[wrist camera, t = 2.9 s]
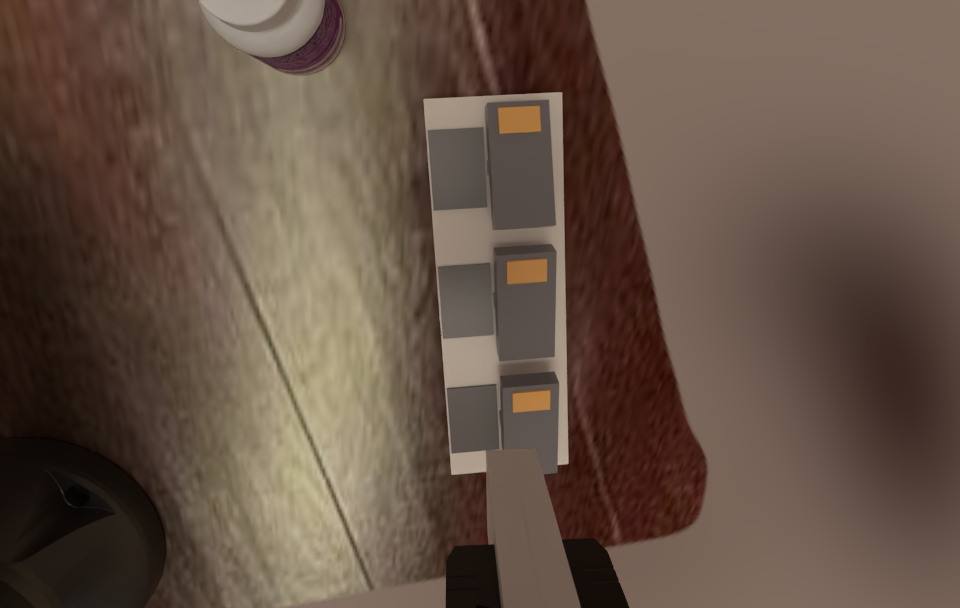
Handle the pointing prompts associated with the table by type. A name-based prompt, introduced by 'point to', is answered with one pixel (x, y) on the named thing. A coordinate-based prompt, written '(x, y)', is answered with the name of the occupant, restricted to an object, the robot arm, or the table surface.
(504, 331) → the rocker
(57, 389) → the table surface
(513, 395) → the block
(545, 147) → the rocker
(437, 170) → the power strip
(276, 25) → the pill bottle
